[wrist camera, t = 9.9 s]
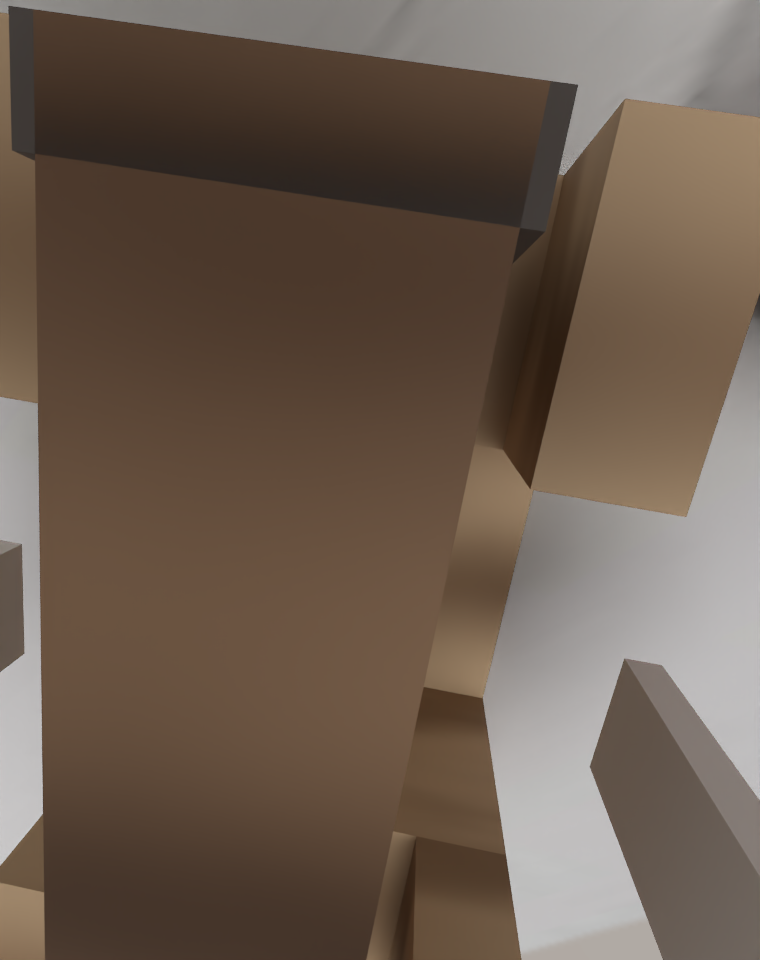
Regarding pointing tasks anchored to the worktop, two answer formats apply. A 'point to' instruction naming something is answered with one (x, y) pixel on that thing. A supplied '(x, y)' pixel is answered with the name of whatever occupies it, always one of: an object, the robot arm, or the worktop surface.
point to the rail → (251, 459)
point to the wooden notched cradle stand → (513, 461)
